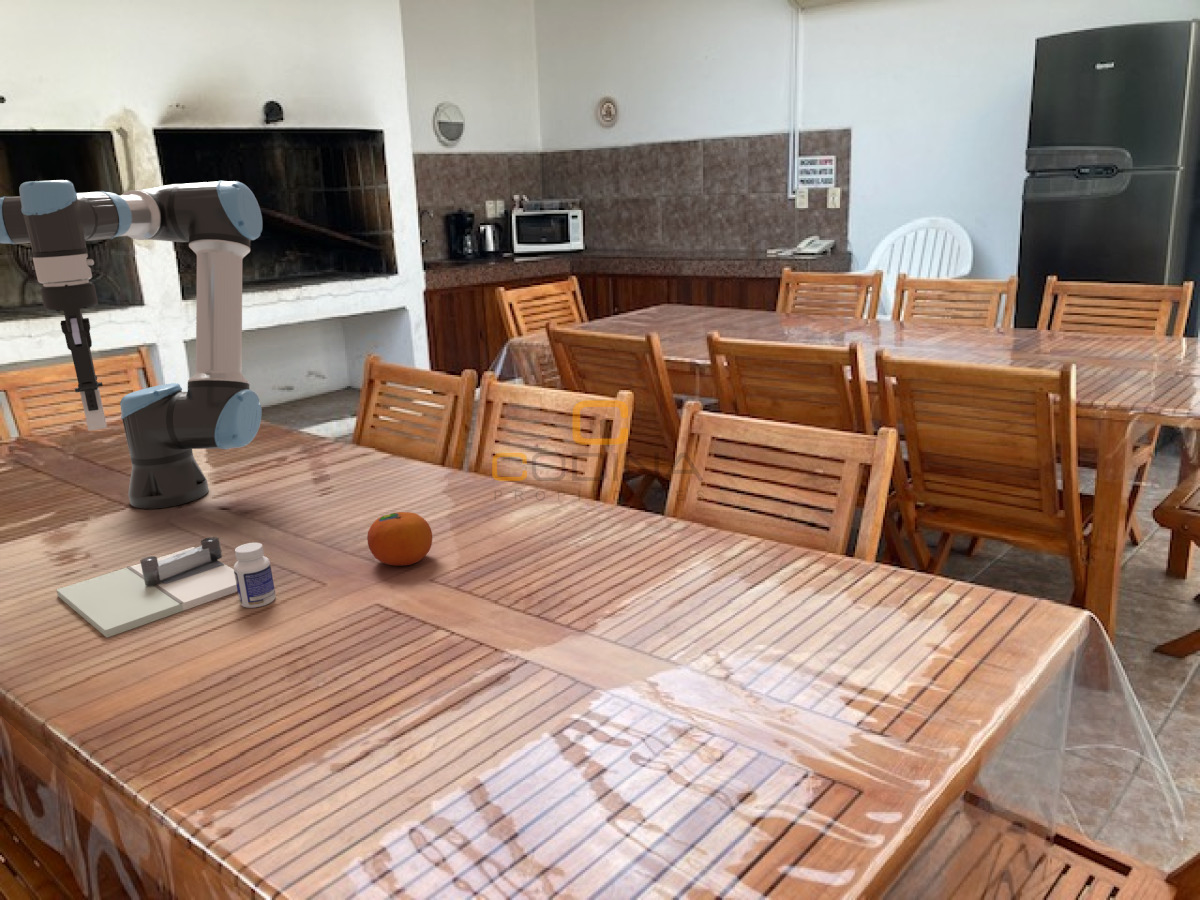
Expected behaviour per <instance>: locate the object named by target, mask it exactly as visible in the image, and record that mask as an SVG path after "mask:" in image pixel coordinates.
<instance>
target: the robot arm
mask: <svg viewBox="0 0 1200 900" xmlns="http://www.w3.org/2000/svg"><path fill="white" fill-rule="evenodd" d="M262 232H263V215H262V211H261V208H260V205H259V203H258V200H257V198H256V197H255V194H254V193H253V191H252V190H251V189H250V188H249V187H248V186H247V185H246V184H245V183H243V182H240V181H238V180H236V181H235V180H233V181H232V180H231V181H227V180H218V181H208V182H207V181H203V182H189V183H171V184H166V185H165V184H164V185H159V186H156V187H150V188H145V189H131V190H127V191H124V192H123V193H122V194H121V195H118V194H117V193H114V192H109V191H104V190H99V191H90V192H88V191H87V192H77V191H76V189H75V186H74V183H73V182H72V181H70V180H68V179H65V180H64V179H56V180H55V179H54V180H39V181H38V180H35V181H25V182H23V183H21V184H20V186H19V196H6V195H5V196H2V197H0V244H7V245H8V244H11V245H20V244H21V245H22V244H30V246H31V250H32V251H31V254H32V262H33V266H34V269H35V275H36V279H37V282H38V283H39V284H42V285H43V286H41V288H40V289H39V291H40V295H41V300H42V303H43V304H42V305H43V308H44V309H45V310H46V311H48V312H60V311H62V312H63V315H64V319H65V320H60V327H61V332H62V333H63V335H64V336H65V337H64V338H65V342H66V347H67V349H68V350H70V353H71V358H72V360H73V361H72V362H73V365H74V371H75V373H76V379H77V383H78V384H77V387H75V388H74V392H75V393H79V394H80V398H81V402H82V408H83V411H84V412H83V413H84V416H85V420H86V426H87V431H88V432H90V431H95V430H97V431H98V430H102V429H108V426H107V425H108V424H107V421H106V415H105V411H104V407H103V402H102V397H101V392H100V387H104V386H103V381H99V382H98V376H97V375H96V371H95V365H94V361H93V355H92V352H91V348H92V345H93V344H92V337H91V323H90V319H89V317H85V318H84V317H83V312H82V309H89V308H93V307H96V306H97V305H98V304H99V303H98V295H97V292H96V287H95V283H93V282H91V281H89V280H91V279H92V278H93V274H92V268H91V267H90V266H93V265H95V261H94V259H92V258H88V257H89V255H88V248H87V244H86V241H88V242H89V241H99V240H113V239H114V238H116V237H129V238H130V239H133V240H138V241H146V240H152V241H163V242H164V241H165V242H172V243H174V242H176V243H188V248H190V249H191V250H192V251H193V253H194V254H195V255H196V305H195V306H196V308H195V309H196V312H195V313H196V317H195V318H196V319H195V320H196V322H195V324H196V326H195V327H196V328H195V331H196V332H195V334H196V335H195V337H196V338H195V339H196V340H195V345H196V346H195V373H194V375H192V376H191V377H190V378H189V379H188V380H187V391H182V390H183V388H182V387H181V385H180V384H179V383H176V382H175V383H174V382H173V383H172V382H171V383H166V384H160V385H155V386H150V387H147V388H146V387H145V388H143V389H138V390H136V391H132V392H130V393H128V394H126V395H124V396H123V397H122V398H121V400H120V403H119V405H120V413H121V416H120V419H121V420H122V423H123V429H124V433H125V438H126V442H127V443H126V444H127V447H128V452H129V457H130V462H131V473H130V479H129V486H128V493H127V494H128V499H129V504H130V506H132V507H134V508H137V509H144V510H145V509H147V510H148V509H149V510H150V509H151V510H152V509H163V508H170V507H176V506H180V505H183V504H188V503H191V502H194V501H196V500H198V499H201V498H202V497H204V496H206V494H208V493H209V490H210V489H209V484H208V479H207V477H206V476H205V474H204V472H203V471H202V469H201V467H200V466H199V464H198V462H197V460H196V459H195V456H194V453H193V452H194V451H193V450H207V449H208V450H209V449H210V450H214V449H216V450H217V449H218V450H219V449H220V450H229V449H237V448H243V447H246V446H247V445H249V444H250V443H251V442H252V441H253V440H254V438H255V437H256V436H257V434H258V431H259V429H260V427H261V421H262V414H263V413H262V404H261V403H260V398H259V396H258V394H257V393H256V392H255V391H253V390H251V389H250V382H249V380H248V379H246V377H244V375H243V374H242V372H243V369H242V367H243V365H242V363H243V362H242V361H243V353H242V352H243V347H242V346H243V338H242V337H243V259H244V258H245V257H246V256H247V255H248V254H250V252H251V241H255V240H256V239H258V238H259V237H261V233H262ZM87 258H88V259H87Z"/></svg>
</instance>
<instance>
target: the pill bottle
mask: <svg viewBox="0 0 1200 900" xmlns="http://www.w3.org/2000/svg"><path fill="white" fill-rule="evenodd" d="M264 553H265V552H264V547H263V544H262V543H260V542H248V543H243V544H241V545H239V546H237V547H236V548H235V549H234V554H235V558H236V562H235V563H234V564H233V569H234V574H235V579H236V585H237V590H238V591H237V596H238V601H239V605H241V606H242V607H244V608H248V609H249V608H252V609H254V608H259V607H264V606H266V605H268V604H271V603H272V602H273V601H274V600H275V599H276V596H277V595H276V588H275V582H274V579H273V571H272V565H271V562H270V559H269V558H268V557H267V556H264V555H265V554H264Z"/></svg>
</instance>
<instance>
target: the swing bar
mask: <svg viewBox="0 0 1200 900" xmlns="http://www.w3.org/2000/svg"><path fill="white" fill-rule="evenodd" d="M200 543H201V544H200V545H199V546H197V547H195V548H194V549H191V550H188V551H186V552H183V553H180V554H177V555H175V556H172V557H169V558H167V559H164V560H161V561H157V558H158V557H157V556H156V555H155V556H153V555H152V556H146V557H143V558H142V559H140V563H141V567H142V572H143V577H144V581H145V585H146V586H153V585H157V584H159V583H161V581H162V580H163V579H166V578H169V577H171V576H174V575H176V574H179V573H182V572H184V571H187V570H190V569H192V568H195V567H197V566H200V565H203V564H205V563H208V562H210V561H215V560H218V561H219V560H220V559H222V557H223V554H222V549H221V542H220V538H219V537H218V536H211V537H206V538H203V539H202V540H200Z"/></svg>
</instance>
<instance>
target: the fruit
mask: <svg viewBox="0 0 1200 900" xmlns="http://www.w3.org/2000/svg"><path fill="white" fill-rule="evenodd" d="M366 539H367V546H368V549H369V551H370V553H371V554H372V555H373V557H374V558H376V560H378V561H379V562H380V563H383V564H386V565H389V566H396V567H398V566H399V567H400V566H410V565H413V564H416V563H418V562H419V561H421V560H422V559H424V558H425V557H426V555H428V553H429V551H431V547H432V545H433V531H432V528H431V526H430V524H429V522H428V521H427V520H426V519H425V518H424V517H422V515H421V516H420V515H419V514H418V513H415V512H409V511H395V512H392V513H389V514H385V515H382V516H380V517H378V518H377V519H376V520H375V521H373V523H371V525H370V527H369V529H368V531H367V537H366Z"/></svg>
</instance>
